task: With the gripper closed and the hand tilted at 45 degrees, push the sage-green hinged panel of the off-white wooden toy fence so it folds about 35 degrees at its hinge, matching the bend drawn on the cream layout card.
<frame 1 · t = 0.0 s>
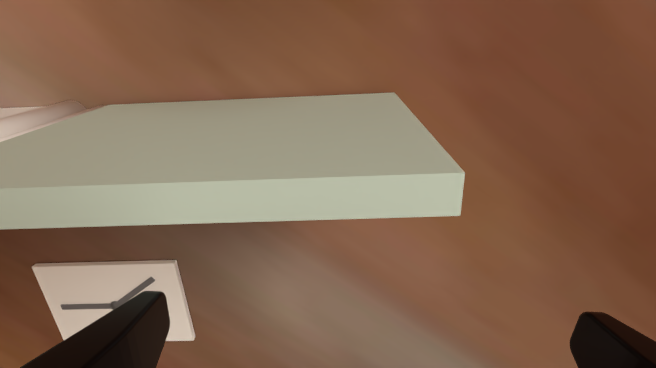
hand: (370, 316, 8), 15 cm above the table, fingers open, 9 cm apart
layout card: (119, 301, 27), on the table
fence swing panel: (206, 140, 15), point 6 cm above the table, hinge at 0.0°
fence fixed section: (107, 114, 21), on the table
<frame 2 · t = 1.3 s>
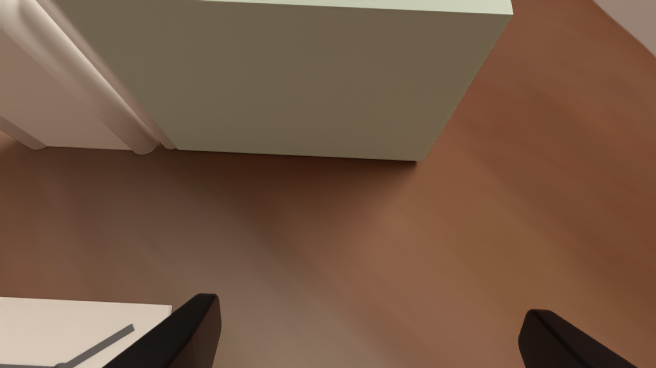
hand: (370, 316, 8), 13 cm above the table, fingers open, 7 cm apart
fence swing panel: (283, 92, 18), point 6 cm above the table, hinge at 0.0°
fence fixed section: (174, 143, 24), on the table
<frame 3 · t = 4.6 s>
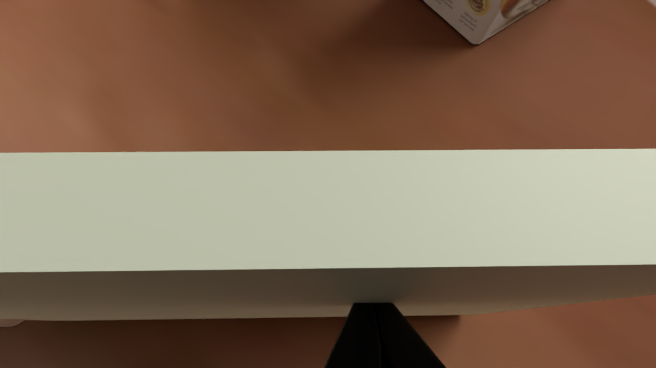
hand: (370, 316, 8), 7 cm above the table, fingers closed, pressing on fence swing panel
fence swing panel: (218, 283, 9), point 6 cm above the table, hinge at 3.4°, touching gripper
fence fixed section: (63, 305, 15), on the table
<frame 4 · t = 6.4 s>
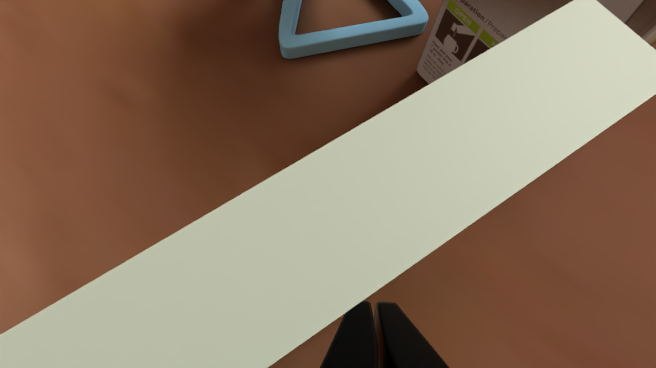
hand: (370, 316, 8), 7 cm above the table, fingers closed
coffee box: (519, 72, 19), on the table
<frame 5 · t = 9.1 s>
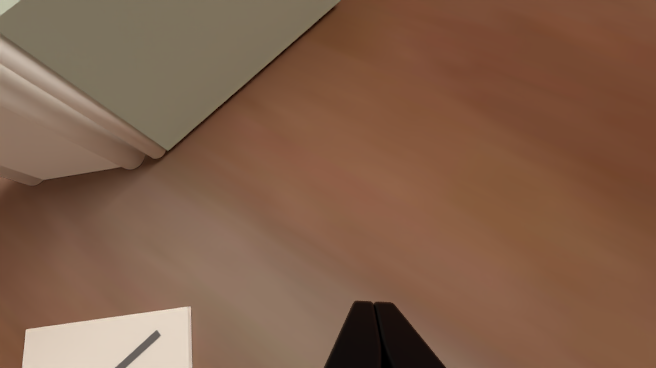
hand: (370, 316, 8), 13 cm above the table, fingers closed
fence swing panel: (211, 8, 20), point 6 cm above the table, hinge at 36.2°
fence fixed section: (160, 152, 25), on the table
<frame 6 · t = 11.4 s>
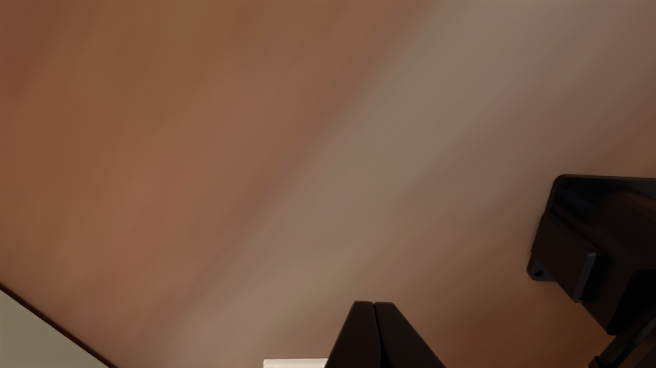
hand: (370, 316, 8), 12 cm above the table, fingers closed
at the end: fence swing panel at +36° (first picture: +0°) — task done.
